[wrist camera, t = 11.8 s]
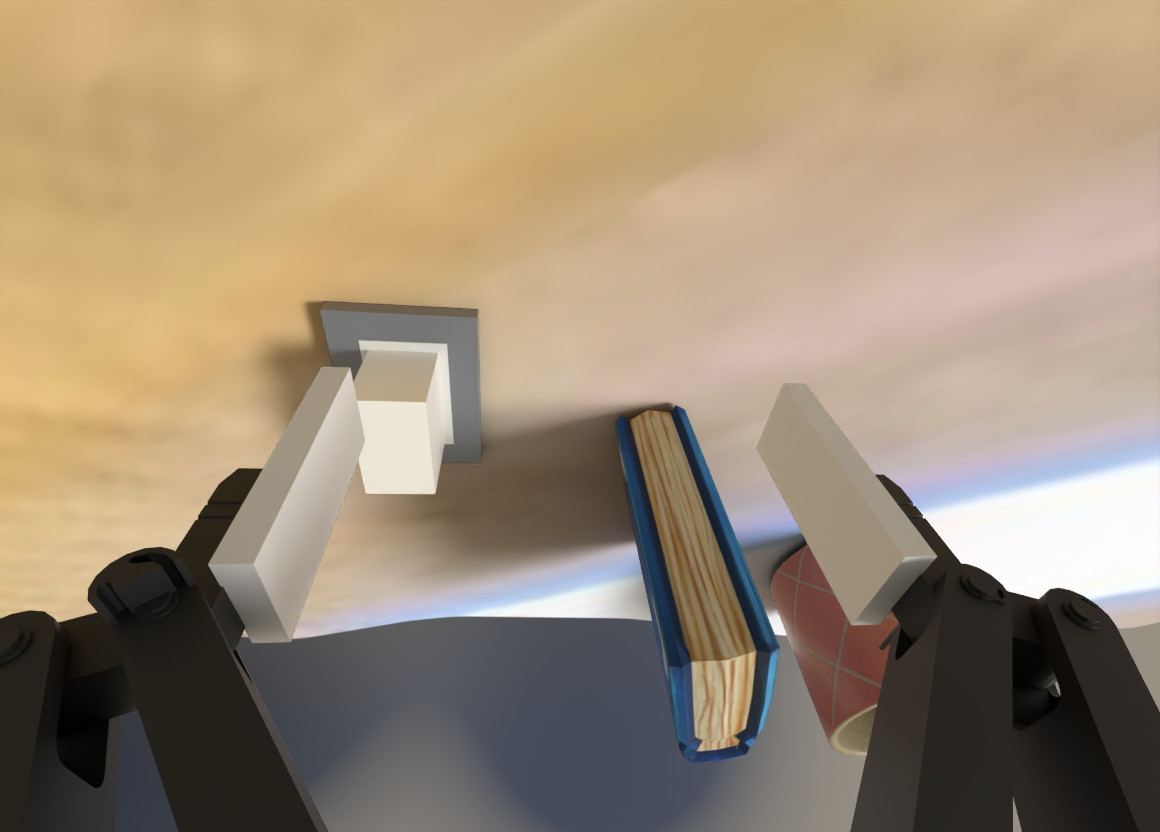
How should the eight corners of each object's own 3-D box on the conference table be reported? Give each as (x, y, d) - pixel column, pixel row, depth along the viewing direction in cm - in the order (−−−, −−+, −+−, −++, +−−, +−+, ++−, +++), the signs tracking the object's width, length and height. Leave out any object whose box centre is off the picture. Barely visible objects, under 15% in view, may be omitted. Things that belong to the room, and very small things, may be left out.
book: (689, 536, 63) (764, 769, 44) (633, 546, 64) (682, 782, 44) (683, 400, 50) (785, 647, 30) (612, 413, 50) (668, 667, 31)
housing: (368, 349, 42) (345, 400, 36) (438, 352, 43) (425, 402, 37) (383, 438, 48) (365, 493, 42) (445, 439, 48) (435, 494, 43)
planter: (805, 513, 63) (899, 679, 47) (932, 527, 67) (1057, 684, 51) (739, 600, 74) (797, 758, 58) (851, 608, 78) (933, 757, 62)
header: (325, 301, 41) (304, 331, 37) (478, 309, 42) (473, 339, 38) (358, 450, 50) (344, 487, 47) (481, 452, 52) (478, 488, 48)
